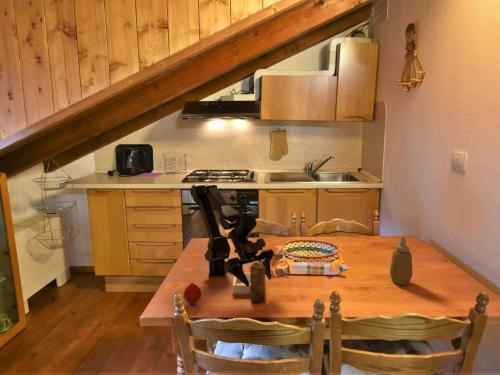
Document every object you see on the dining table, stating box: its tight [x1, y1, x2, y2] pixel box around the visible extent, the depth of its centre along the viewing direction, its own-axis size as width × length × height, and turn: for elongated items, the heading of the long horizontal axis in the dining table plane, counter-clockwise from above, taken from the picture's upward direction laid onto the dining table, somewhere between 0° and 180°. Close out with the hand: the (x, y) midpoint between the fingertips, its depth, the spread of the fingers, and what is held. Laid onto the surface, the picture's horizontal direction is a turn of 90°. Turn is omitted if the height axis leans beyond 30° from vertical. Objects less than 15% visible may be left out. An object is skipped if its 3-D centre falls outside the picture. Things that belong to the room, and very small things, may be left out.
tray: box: [232, 272, 251, 296], centre depth 138 cm, size 11×11×4 cm
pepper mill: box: [249, 262, 266, 305], centre depth 127 cm, size 5×5×13 cm
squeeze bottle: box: [389, 236, 413, 286], centre depth 140 cm, size 8×8×18 cm
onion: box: [183, 282, 202, 306], centre depth 125 cm, size 6×6×8 cm
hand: (259, 282), depth 126 cm, fingers open, 9 cm apart
